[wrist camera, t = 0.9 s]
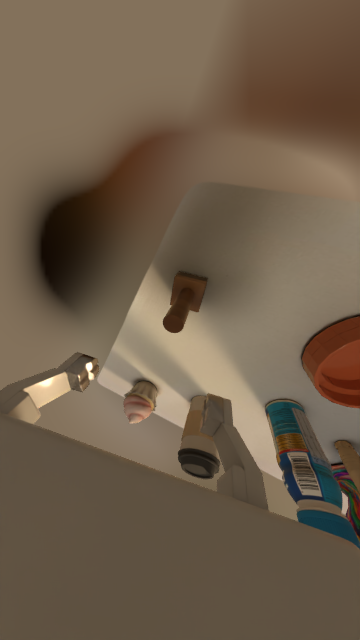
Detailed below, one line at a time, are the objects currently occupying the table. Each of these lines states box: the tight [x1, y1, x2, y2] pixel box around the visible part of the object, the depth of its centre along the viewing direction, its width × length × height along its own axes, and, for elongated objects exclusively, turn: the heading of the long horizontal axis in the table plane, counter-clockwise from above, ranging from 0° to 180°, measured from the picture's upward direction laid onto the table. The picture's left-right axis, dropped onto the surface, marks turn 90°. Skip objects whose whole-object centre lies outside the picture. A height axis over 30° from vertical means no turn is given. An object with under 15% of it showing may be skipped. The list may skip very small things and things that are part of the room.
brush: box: [163, 271, 208, 333], centre depth 22 cm, size 5×5×12 cm
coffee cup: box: [178, 396, 220, 479], centre depth 37 cm, size 9×9×15 cm
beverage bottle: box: [265, 400, 360, 549], centre depth 29 cm, size 8×8×20 cm
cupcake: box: [124, 381, 157, 423], centre depth 41 cm, size 9×9×10 cm
